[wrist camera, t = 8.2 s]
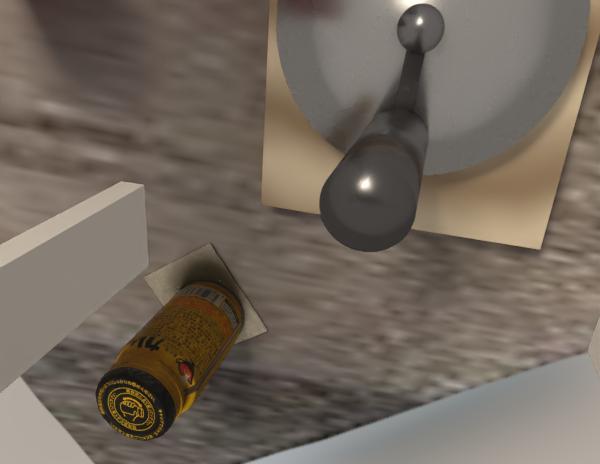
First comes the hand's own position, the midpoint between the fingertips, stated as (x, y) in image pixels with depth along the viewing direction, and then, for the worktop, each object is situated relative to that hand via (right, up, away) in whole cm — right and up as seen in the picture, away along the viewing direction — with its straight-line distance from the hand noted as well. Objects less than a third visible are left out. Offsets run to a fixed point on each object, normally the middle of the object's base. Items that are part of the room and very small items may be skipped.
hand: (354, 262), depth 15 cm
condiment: (-9, -5, +28) cm, 30 cm away
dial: (+5, +12, +14) cm, 19 cm away
